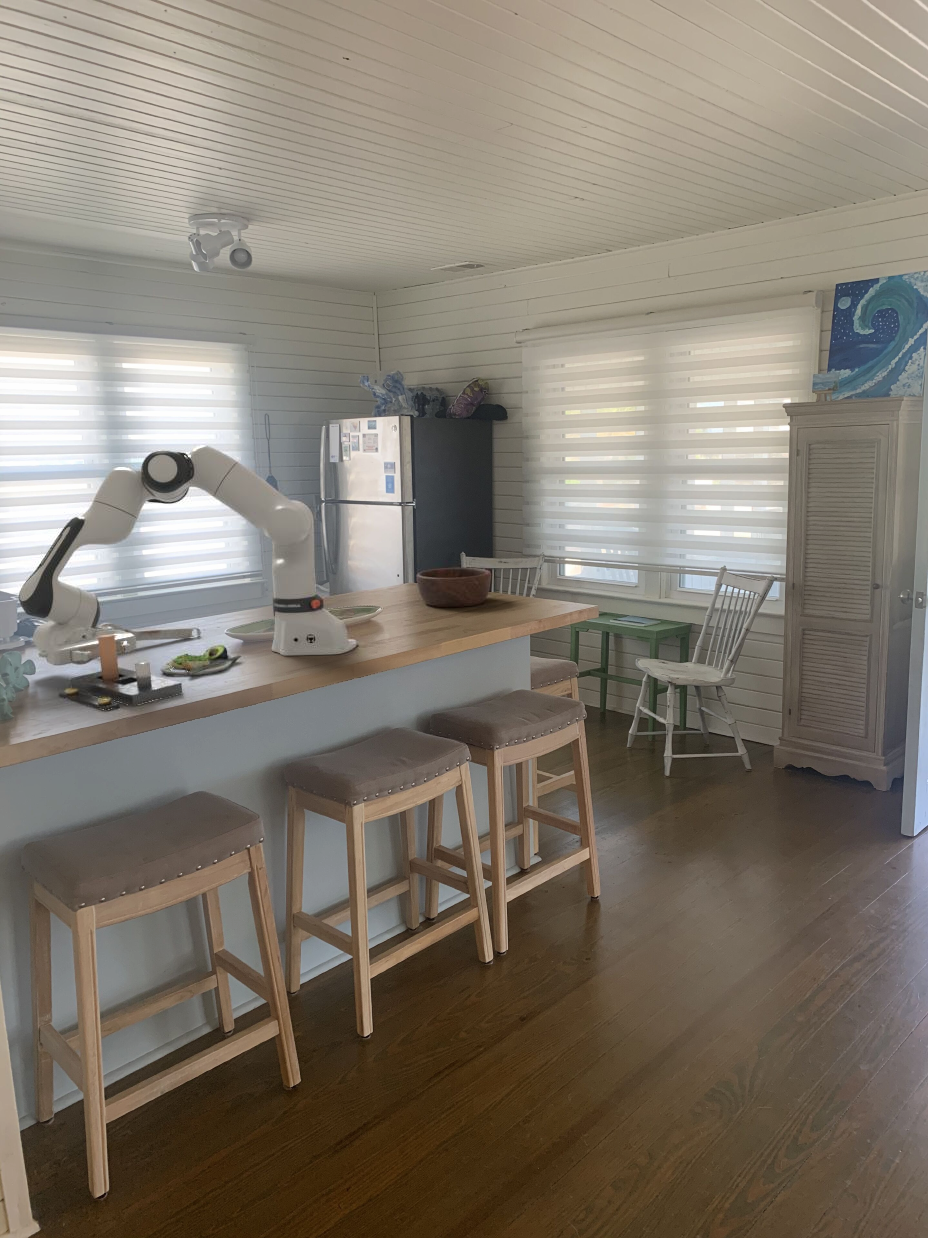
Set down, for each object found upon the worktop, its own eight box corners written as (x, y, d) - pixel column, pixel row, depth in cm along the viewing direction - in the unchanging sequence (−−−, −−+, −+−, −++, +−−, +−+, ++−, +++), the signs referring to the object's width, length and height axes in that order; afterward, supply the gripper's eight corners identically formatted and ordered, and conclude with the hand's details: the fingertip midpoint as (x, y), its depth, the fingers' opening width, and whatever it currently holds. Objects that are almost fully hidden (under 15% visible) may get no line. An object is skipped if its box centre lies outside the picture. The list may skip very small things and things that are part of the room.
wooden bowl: (411, 599, 311) (410, 570, 309) (481, 594, 317) (480, 565, 315) (425, 612, 288) (424, 580, 286) (500, 606, 293) (500, 575, 291)
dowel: (123, 685, 208) (117, 634, 206) (114, 689, 204) (108, 638, 202) (109, 685, 209) (103, 634, 206) (100, 689, 205) (94, 637, 203)
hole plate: (50, 693, 203) (46, 661, 201) (119, 677, 216) (116, 646, 214) (111, 712, 186) (107, 677, 185) (182, 693, 199) (179, 660, 198)
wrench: (200, 647, 260) (96, 653, 240) (197, 646, 261) (93, 652, 241) (201, 619, 259) (96, 623, 239) (198, 618, 261) (93, 623, 240)
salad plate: (224, 679, 212) (222, 660, 211) (149, 681, 213) (147, 662, 212) (245, 660, 231) (244, 642, 230) (176, 661, 232) (175, 644, 231)
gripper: (33, 640, 205) (63, 647, 196) (116, 625, 220) (147, 631, 212) (36, 667, 206) (66, 675, 197) (118, 650, 222) (149, 657, 213)
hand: (109, 652), depth 205 cm, fingers open, 8 cm apart
